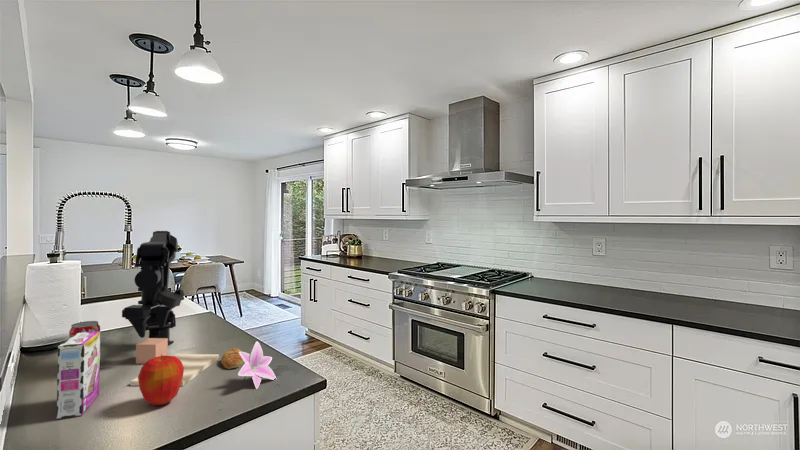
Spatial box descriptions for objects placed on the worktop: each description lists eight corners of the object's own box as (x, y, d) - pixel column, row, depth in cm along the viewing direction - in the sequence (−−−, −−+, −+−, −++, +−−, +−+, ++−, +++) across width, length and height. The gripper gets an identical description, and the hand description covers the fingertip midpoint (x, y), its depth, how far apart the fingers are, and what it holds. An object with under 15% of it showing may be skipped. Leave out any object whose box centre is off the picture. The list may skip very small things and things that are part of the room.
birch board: (175, 357, 119) (175, 353, 119) (218, 358, 119) (218, 354, 119) (130, 385, 99) (130, 381, 99) (183, 386, 99) (183, 381, 99)
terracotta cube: (149, 356, 120) (149, 338, 120) (167, 356, 120) (167, 338, 120) (135, 363, 114) (136, 344, 114) (155, 364, 114) (155, 344, 114)
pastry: (246, 368, 112) (245, 355, 112) (221, 372, 109) (221, 359, 109) (243, 357, 120) (243, 346, 120) (220, 361, 117) (220, 349, 117)
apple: (133, 415, 84) (134, 363, 84) (143, 398, 92) (143, 350, 92) (181, 408, 88) (181, 357, 88) (186, 391, 96) (186, 345, 96)
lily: (229, 399, 95) (246, 368, 94) (221, 367, 104) (236, 338, 102) (271, 398, 103) (288, 370, 102) (261, 369, 112) (275, 343, 110)
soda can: (82, 372, 107) (82, 327, 106) (62, 370, 108) (62, 326, 108) (106, 363, 114) (106, 321, 113) (87, 361, 115) (87, 319, 115)
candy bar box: (84, 416, 84) (84, 343, 84) (55, 420, 82) (55, 346, 82) (101, 394, 94) (101, 329, 94) (76, 397, 92) (76, 332, 92)
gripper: (159, 289, 107) (159, 343, 108) (194, 278, 126) (194, 324, 126) (120, 289, 107) (120, 342, 108) (161, 278, 126) (161, 324, 126)
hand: (152, 332), depth 117 cm, fingers open, 9 cm apart
